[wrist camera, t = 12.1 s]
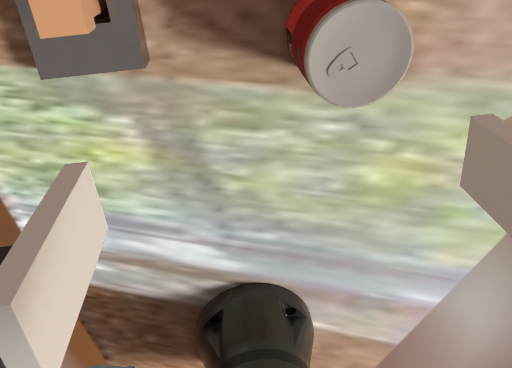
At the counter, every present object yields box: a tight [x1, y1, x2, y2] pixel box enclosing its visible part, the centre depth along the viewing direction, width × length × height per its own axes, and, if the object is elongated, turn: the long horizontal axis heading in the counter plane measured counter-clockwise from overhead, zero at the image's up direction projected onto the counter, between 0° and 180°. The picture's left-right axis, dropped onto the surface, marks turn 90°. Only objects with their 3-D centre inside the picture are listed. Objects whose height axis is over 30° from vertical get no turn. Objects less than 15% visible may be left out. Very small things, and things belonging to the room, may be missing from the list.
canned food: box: [285, 0, 414, 108], centre depth 36 cm, size 8×8×11 cm
